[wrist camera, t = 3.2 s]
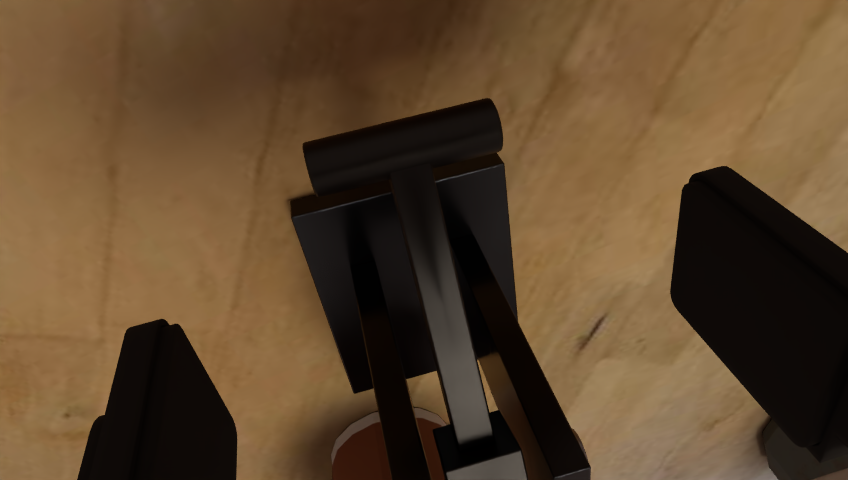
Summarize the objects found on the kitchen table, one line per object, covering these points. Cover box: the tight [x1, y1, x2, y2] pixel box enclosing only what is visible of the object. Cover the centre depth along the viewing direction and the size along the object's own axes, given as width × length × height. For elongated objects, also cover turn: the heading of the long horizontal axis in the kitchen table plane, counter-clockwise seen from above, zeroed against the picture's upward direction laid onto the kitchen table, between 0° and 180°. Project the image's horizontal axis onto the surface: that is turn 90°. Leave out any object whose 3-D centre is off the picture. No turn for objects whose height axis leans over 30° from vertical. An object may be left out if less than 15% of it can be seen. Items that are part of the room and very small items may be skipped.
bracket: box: [290, 153, 591, 480], centre depth 21 cm, size 10×8×12 cm
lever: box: [303, 98, 528, 480], centre depth 17 cm, size 12×5×2 cm, turn 9°
